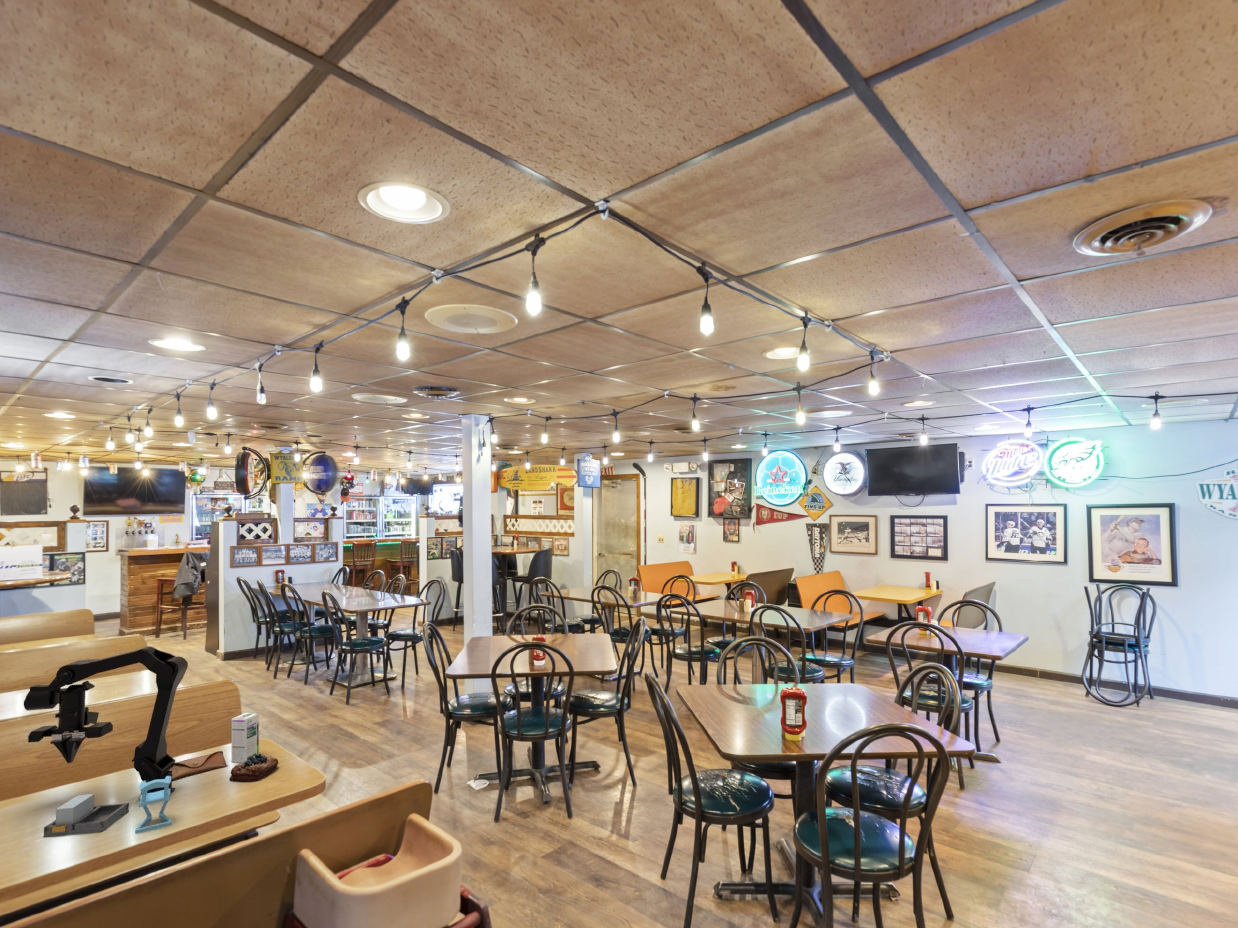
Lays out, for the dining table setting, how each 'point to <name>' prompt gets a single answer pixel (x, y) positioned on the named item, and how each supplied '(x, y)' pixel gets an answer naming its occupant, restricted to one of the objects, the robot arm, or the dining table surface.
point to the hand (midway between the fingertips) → (70, 762)
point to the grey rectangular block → (75, 809)
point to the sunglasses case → (198, 765)
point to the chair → (153, 798)
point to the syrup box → (245, 736)
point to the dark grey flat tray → (90, 821)
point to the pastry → (254, 768)
